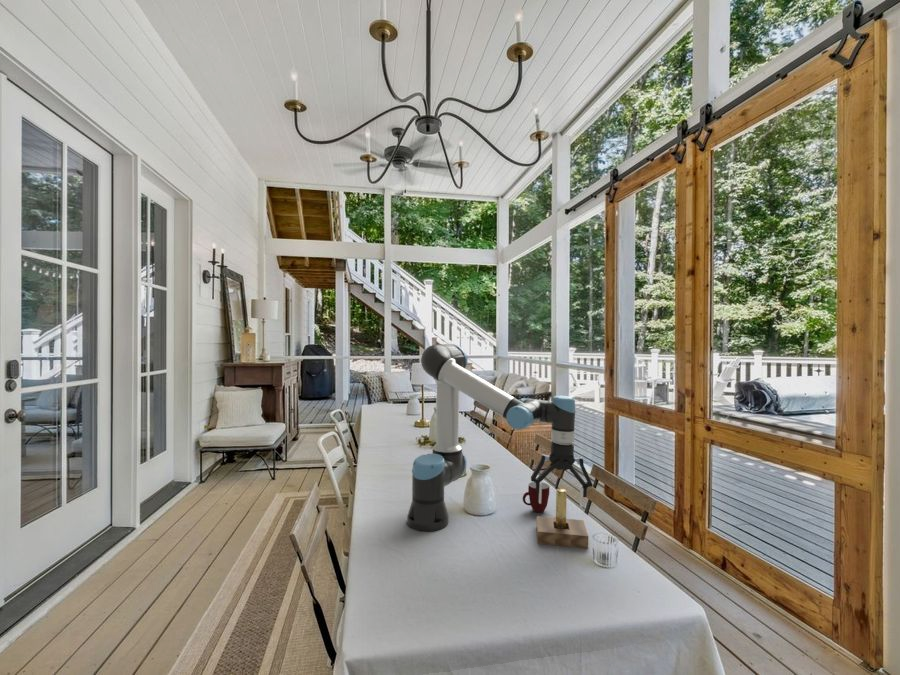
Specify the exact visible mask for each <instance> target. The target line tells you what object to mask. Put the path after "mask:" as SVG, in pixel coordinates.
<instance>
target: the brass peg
mask: <svg viewBox="0 0 900 675" xmlns="http://www.w3.org/2000/svg"><path fill="white" fill-rule="evenodd" d="M567 492H568V491H567V490H566V489H565V488H557V489H556V492H555V497H556V498H555V518H556V528H557V529H566V519H567V501H568V500H567Z"/></svg>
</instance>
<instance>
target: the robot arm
mask: <svg viewBox="0 0 900 675" xmlns="http://www.w3.org/2000/svg"><path fill="white" fill-rule="evenodd" d="M420 361H421V362H420V364H421V367H422V369H423V371H424V372H425V373H426V374H428V376H430V377H431V378H432V379H433V380H434V381H435V382H436V441H435V442H436V443H435V444H434V445H433V446H432V453H427V454H420V455H419V456H417V457H416V458H415V459H414V460H413V462H412V470H411V473H412V475H411V476H412V477H411V478H412V485H411V486H412V487H411V488H412V492H411V495H412V499H411V503H410V506H409V510H408V513H407V516H406V518H407V519H406V522H407V523H406V524H407V526H408V527H410V528H411V529H414V530H417V531H419V532H434V531H438V530H442V529H444V528H446V527H447V526H448V525H449V522H450V521H449V516H450V515H449V512H448V509H447V506H446V503H445V487H446V486H448V485H449V484H451V483H452V482H455V481H457V480H459V479H460V478H461V477H462V476H463V475H464V473H465V471H466V469H467V458H466V455H464V452H463V448H462V446H461V445H460V443H459V408H460V407H459V400H460V399H459V397H460V396H459V394H460V393H459V392H461V393H463V394H464V395H466V396H468V397H470V398H471V399H473V400H474V401H476V402H478V403H479V404H481V405H482V406H484V407H486V408H488V409H489V410H491V411H492V412H493V413H495V414H497V415H499V416H500V417H502V418H504V419H506V422H507V424H508V425H509V426H510V427H511V429H513V430H517V431H518V430H525V429H527V428H529V427H531V426H532V425H533V424H535V423H537V422H539V423H547V424H551V432H550V433H551V435H550V436H551V437H550V438H551V439H550V440H551V442H550V454H549V455H546V454H545V453H541V456H540V459H539V462H538V463H537V465H536V467H535V469H534V470H533V472H532V474H531V475H530V480H531V482H535V483H536V493H539V503H540V504H541V495H542V482H543V481H544V480H545V478H546V477H547V476H548V475H549V474H550V473H551V472H552V471H554V470H555V469H556V470H559V471H568V470H569V471H570V472H571V473H572V474H573V476H574V477H575V478H576V480H577V481H578V482H579V484H581V485H579V507H580V508H584V498H587V493H588V491H587V490H588V488H592V487H593V485H594V484H593V482H592V480H591V478H590V476H589V473H588V471H587V469H586V467H585V465H584V459H583V457H582V456H579V457H575V456H574V454H575V451H574V450H575V449H574V448H575V444H574V442H575V423H576V422H575V421H576V401H575V398H574V397H572V396H568V395H553V396H552V399H551V400H543V399H537V398H520V399H517V398H515V397H514V396H512V395H511V394H509V393H507V392H505V391H504V390H502V389H500V388H498V387H497V386H495V385H493V384H492V383H490V382H488V381H487V380H485V379H483V378H481V377H480V376H478V375H476V374H475V373H473V372H472V371H470V370H468V369H466V368H467V365H468V362H469V361H468V355H467V353H466V350H464V349H463V347H462V346H459V345H457V344H453V343H443V344H442V343H441V344H432V345H429V346H428V347H426V348H425V349H424V350H423V352H422V354H421V359H420ZM547 461H549V462H550V464H548V466H547V467H546V468H545V469H544V470H543V471H542V472H541V470H542V468H543V466H544V464H545V463H546V462H547ZM574 463H576V464H577V465H579V467H580V469H581V472H582V473H583V476H584V478H585V480H586V481H585V480H584V479H583V478H582V476H581V475H580V474H579V473H578V470H576V469H575V468H574V466H573V465H574ZM540 472H541V473H540ZM539 473H540V475H539Z"/></svg>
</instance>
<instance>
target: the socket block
mask: <svg viewBox="0 0 900 675" xmlns="http://www.w3.org/2000/svg"><path fill="white" fill-rule="evenodd" d="M536 539H537V545H538V544H539V545H549V546H556V547H557V546H559V547H560V546H561V547H569V548H580V549H589V534H588V531H587V528H586V525H585V521H584V520H583V519H575V518H566V529H557V528H556V517H552V516H539V515H537V516H536Z"/></svg>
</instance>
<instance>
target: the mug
mask: <svg viewBox="0 0 900 675" xmlns="http://www.w3.org/2000/svg"><path fill="white" fill-rule="evenodd" d="M541 482H542V495H541V504H540V503H539V493H536V483H535V482H532V481H531V482H529V483H528V488H527V490H528V491H527V492H526V491H525V493H523V496H522V502H523V503H524V504H525V505H526V506H530V507H531V508H532V511H533V512H535V513H537V514H540V513H544V512H545V511H546V508H547V506H548V502H549V498H550V484H548V483H546V482H543V481H541ZM527 496H528V497H529V498H528V499H529V502H526V497H527Z"/></svg>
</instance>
